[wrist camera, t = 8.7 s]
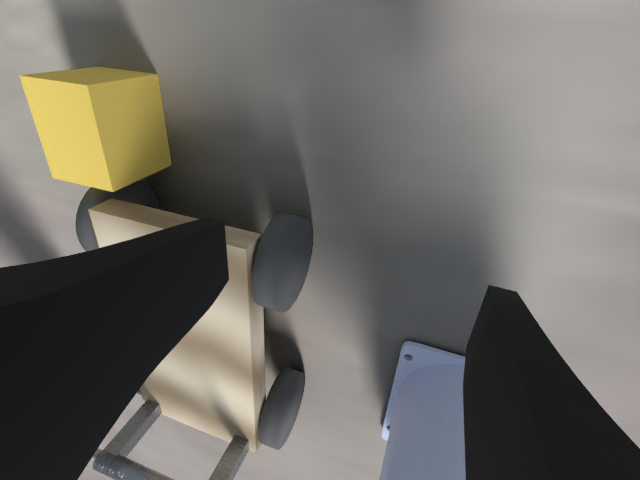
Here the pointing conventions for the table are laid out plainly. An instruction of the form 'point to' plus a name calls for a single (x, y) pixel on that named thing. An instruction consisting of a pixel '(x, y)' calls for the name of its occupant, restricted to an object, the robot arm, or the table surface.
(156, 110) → the block
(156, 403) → the dolly
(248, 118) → the table surface
